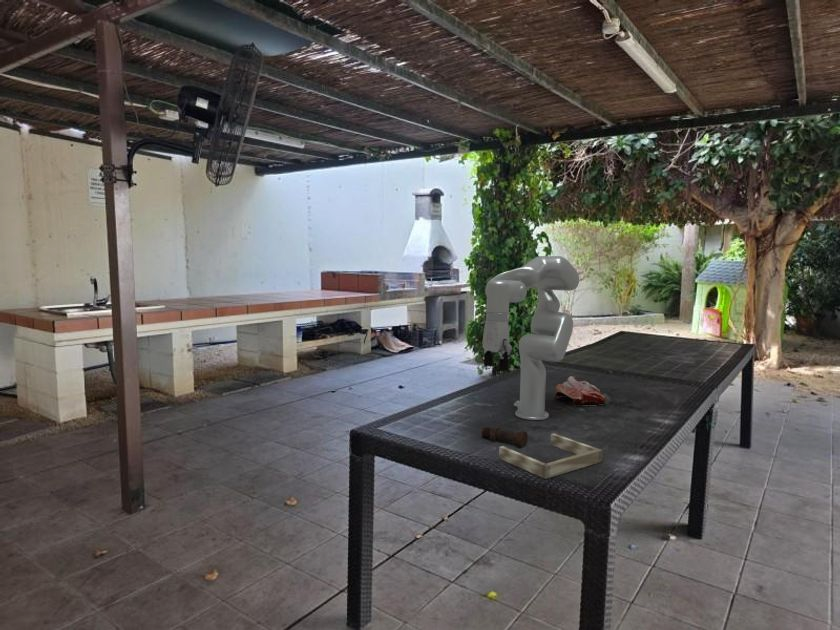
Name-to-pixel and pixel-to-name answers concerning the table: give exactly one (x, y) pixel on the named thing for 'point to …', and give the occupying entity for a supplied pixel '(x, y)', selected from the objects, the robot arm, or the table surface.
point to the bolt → (506, 435)
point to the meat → (580, 392)
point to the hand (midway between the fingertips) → (495, 368)
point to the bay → (582, 459)
